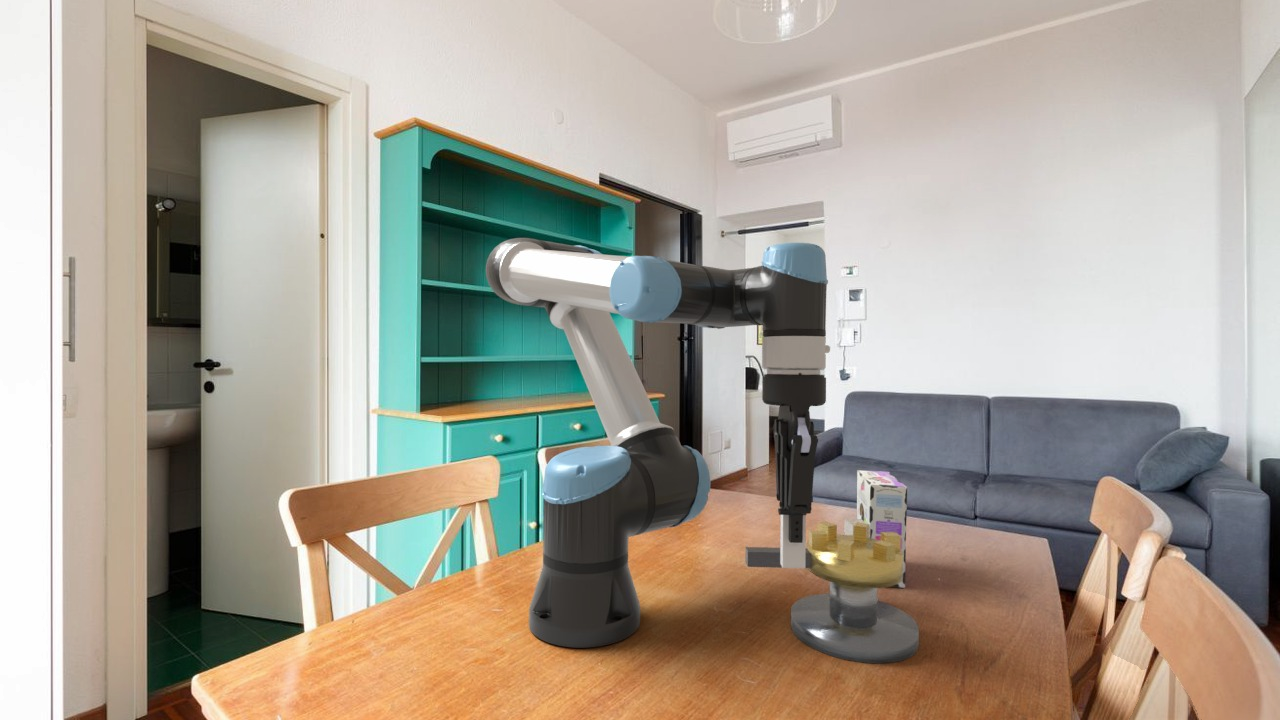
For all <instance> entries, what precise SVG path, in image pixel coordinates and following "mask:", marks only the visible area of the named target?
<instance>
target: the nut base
mask: <svg viewBox="0 0 1280 720" xmlns="http://www.w3.org/2000/svg"><path fill="white" fill-rule="evenodd" d="M857 522H859V523H865V522H864V521H863V520H862V519H857V518H844V525H843V526H844V528H843V529H844V531H843V532H844V534H843V535H853V536H854V525H855V524H856V523H857ZM866 524H867V523H866ZM869 538H870V526H869ZM878 589H879V588H861V587H853V586H846V585H841V584H837V583H834V582H830V581H829V593H818V594H813V595H808V596H804V597H802V598H800V599H798V600H796V601H795V602H794V603H793V604H792V605H791V610H790V628H791V630H792V632H793V634H794V635H795V637H796V638H797V639H798V640H799V641H800V642H802V643H803V644H805V645H806V646H809V647H810V648H812V649H813V650H816V651H818V652H820V653H822V654H826V655H829V656H830V657H834V658H836V659H841V660H844V661H845V660H846V661H850V662H856V663H865V664H890V663H898V662H901V661H905V660H908V659H910V658H911V657H913V656H914V655H915V654H916V653H917V652H918V650H919V643H920V629H919V625H918V622H917V621H916V620H915V619H914V618H913V617H912V616H911V615H909V614H908V613H906V611H903V610H902V609H900V608H898V607H896V606H893V605H892V604H889V603H887V602H883V601H881V600H878V591H879V590H878Z"/></svg>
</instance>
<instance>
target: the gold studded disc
mask: <svg viewBox="0 0 1280 720" xmlns="http://www.w3.org/2000/svg"><path fill="white" fill-rule="evenodd" d="M837 528H838V526H837V524H835V523H832V522H828V521H821V522H817V530H812V529H811V530H810V529H809V530H808V541H807V543H806V545H807V547H805V568H804V569H808V571H809V572H810V573H811V574H813V575H814V576H816V577H818V578H821V579H822V580H825V581H827V582H829V583H830V582H834V583H837V584H841V585H846V586H853V587H861V588H878V589H881V588H889V587H890V588H891V586H894V585H896V584H899V583H900V582H901V581H902V579H903V553H902V551H901V550H900V546H901V536H900V535H899V534H897V533H896V532H881V541H880V540H876V539H872V538H869V524H866V523H859V522H857V523H856V524H855V525H854V536H853V535H844V534H837V533H838V532H837ZM744 560H745V561H744V563H745V564H746V566H747V567H748V568H778V569H779V568H782V566H781V564H780V547H768V546H767V547H763V546H762V547H761V546H759V547H758V546H757V547H756V546H755V547H754V546H745V559H744ZM782 569H783V568H782Z"/></svg>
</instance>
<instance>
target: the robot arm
mask: <svg viewBox="0 0 1280 720" xmlns="http://www.w3.org/2000/svg"><path fill="white" fill-rule="evenodd" d="M485 276H486V281H487V283H488V285H489V287H490V288H491V290H492V291H493V292H494V293H495V294H496V296H497V297H499V298H501V299H502V300H504V301H506V302H508V303H510V304H515V305H520V306H527V307H535V308H536V307H537V308H544V309H545V310H546V312H547V313H546V314H547V315H548V317H549V321H550V322H551V324H552V325H553V326H554V327H555V328H558V329H559V330H560V329H561V330H563V331H564V334H565V336H566V338H567V341H568V344H569V346H570V349H571V351H572V353H573V356H574V358H575V360H576V363H577V366H578V368H579V371H580V374H581V376H582V378H583V380H584V383H585V384H586V387H587V389H588V393H589V394H590V397H591V399H592V402H593V405H594V407H595V410H596V412H597V413H598V417H599V419H600V421H601V424H602V426H603V429H604V431H605V434H606V436H607V438H608V439H607V440H608V441H609V444H610V445H607V444H606V445H602V444H601V445H600V444H599V445H595V446H582V447H576V448H572V449H568V450H566V451H562V452H560V453H558V454H556V455H555V456H553V457H552V458H551V459H550V460H549V461H548V463H547V464H546V465H545V469H544V478H543V485H542V486H543V487H542V490H541V493H542V498H543V514H542V515H543V516H542V517H543V519H542V520H543V521H542V522H543V525H542V530H543V531H542V532H543V533H542V535H543V536H542V539H543V541H542V567H541V572H540V573H539V574H540V575H539V577H538V580H537V582H536V586H535V589H534V592H533V594H532V598H531V602H530V604H529V609H528V610H529V611H528V627H529V631H530V632H531V633H532V634H533V635H534V636H535V637H536V638H538V639H540V640H542V641H543V642H546V643H549V644H551V645H554V646H555V645H556V646H559V647H564V648H565V647H567V648H575V649H576V648H577V649H579V648H580V649H581V648H597V647H602V646H607V645H612V644H615V643H618V642H620V641H624V640H625V639H627V638H629V637H630V636H632V635H634V633H635V632H636V631H637V630H638V628H639V627H640V625H641V603H640V600H639V596H638V594H637V590H636V587H635V583H634V580H633V577H632V574H631V570H630V567H629V538H631V537H634V536H638V535H639V536H640V535H642V534H646V533H651V532H655V531H658V530H662V529H667V528H676V527H679V526H680V525H681V524H684V523H687V522H690V521H692V520H694V519H695V518H697V517H698V516H699V515H700V514H701V513H702V512H703V510H704V508H705V507H706V505H707V503H708V500H709V493H710V492H711V475H710V474H711V473H710V470H709V469H710V468H709V466H708V464H707V461H706V460H705V457H704V456H703V455H702V454H701V452H699V450H697V449H695V448H692V447H691V446H689V445H681V442H680V440H679V438H678V436H677V433H676V432H675V429H674V428H673V427H672V426H671V425H667V424H664V423H661V421H660V420H659V417H658V415H657V413H656V410H655V409H654V406H653V404H652V402H651V401H650V397H649V396H648V393H647V392H646V389H645V387H644V385H643V383H642V380H641V378H640V376H639V374H638V372H637V370H636V367H635V365H634V363H633V361H632V359H631V357H630V354H629V352H628V350H627V347H626V345H625V343H624V341H623V339H622V337H621V334H620V333H619V331H618V328H617V326H616V324H615V321H614V319H613V317H612V315H611V313H612V314H617V315H620V316H621V317H622V318H625V319H626V320H632V321H633V320H634V321H636V322H639V323H650V324H654V323H668V324H684V325H693V326H694V325H695V326H697V327H700V328H708V329H717V330H718V329H719V330H720V329H725V328H734V327H735V328H736V327H748V326H762V338H761V342H762V343H761V344H762V345H761V347H762V348H761V355H762V356H761V359H762V360H761V361H762V362H761V367H762V369H763V370H766V373H765V374H764V375H763V376H762V387H761V389H762V391H761V393H762V394H761V395H762V396H761V398H762V399H761V400H762V403H764V404H766V405H768V406H769V405H770V406H775V407H776V406H778V416H777V417H778V418H776V419H774V424H773V426H772V432H773V438H774V439H773V441H774V457H775V462H774V463H775V480H776V481H775V482H776V483H775V485H776V494H775V496H776V497H775V498H776V500H777V501H778V502H779V504H778V505H779V506H778V507H779V508H778V509H777V511H778V515H780V527H779V528H780V536H779V538H780V539H779V540H780V544H779V545H780V547H779V548H780V564H781V566H782V569H806V568H805V548H807V547H806V545H807V543H806V538H807V537H806V527H807V526H806V522H807V521H806V520H807V519H806V517H807V514H809V515H810V514H811V512H812V509H813V508H812V502H813V488H814V475H815V464H816V463H815V462H816V461H815V459H816V453H817V448H818V443H819V438H818V436H817V435H816V434H815V424H814V422H813V420H812V421H811V414H810V407H819V406H824V405H825V404H826V403H827V377H825V374H821V371H822V370H823V371H824V370H825V369H826V362H827V361H826V359H827V358H826V357H827V356H826V354H827V353H828V354H829V353H830V351H831V346H830V345H828V344H827V341H826V340H827V339H826V336H827V335H826V333H827V331H826V324H827V323H826V321H827V320H826V319H827V289H828V288H827V287H828V285H829V284H828V283H829V280H828V276H827V260H826V253H825V250H824V249H823V248H822V247H821V246H820V245H818V244H815V243H809V242H785V243H784V242H783V243H778V244H777V243H776V244H773V245H771V246H768V247H766V248H765V250H764V251H763V257H762V261H761V265H758V266H755V267H750V268H749V267H748V268H740V269H726V268H725V269H724V268H719V267H718V268H717V267H713V266H707V265H706V266H705V265H700V264H695V263H694V264H692V263H686V262H681V261H676V260H670V259H664V258H662V257H657V256H652V255H631V256H628V255H627V256H626V255H614V254H603V253H601V251H598V250H597V249H596V250H595V249H592V248H589V247H587V246H583V245H580V244H579V245H570V244H564V243H560V242H559V243H557V242H553V241H548V240H547V241H546V240H542V239H536V238H529V237H515V238H510V239H507V240H504V241H502V242H500V243H499V244H498V245H496V246H495V247H494V248H493V250H492V251H491V252H490V253H489V256H488V258H487V259H486V265H485ZM826 344H827V345H826Z"/></svg>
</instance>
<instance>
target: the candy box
mask: <svg viewBox="0 0 1280 720" xmlns="http://www.w3.org/2000/svg"><path fill="white" fill-rule="evenodd" d="M907 508H908V486H906V485H905V484H904V483H902V482H901V481H900V480H899V479H897V477H895V476H894V475H893V474H892V473H891V472H890V471H883V470H882V471H880V470H879V471H878V470H856V519H862V520H863V521H864V522H865V523H867V524H869V526H870V538H872V539H876V540H880V541H881V532H896V533H897V534H899V535H900V536H901V546H900V550H901V551H902V553H903V579H902V581H901V582H900V583H899V584H896V585H894V586H890V588H891V587H892V588H902V589H903V588H906V563H907V561H906V560H907V559H906V555H907V552H906V551H907V547H906V546H907V541H906V540H907V519H908V518H907V513H908V510H907Z"/></svg>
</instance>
